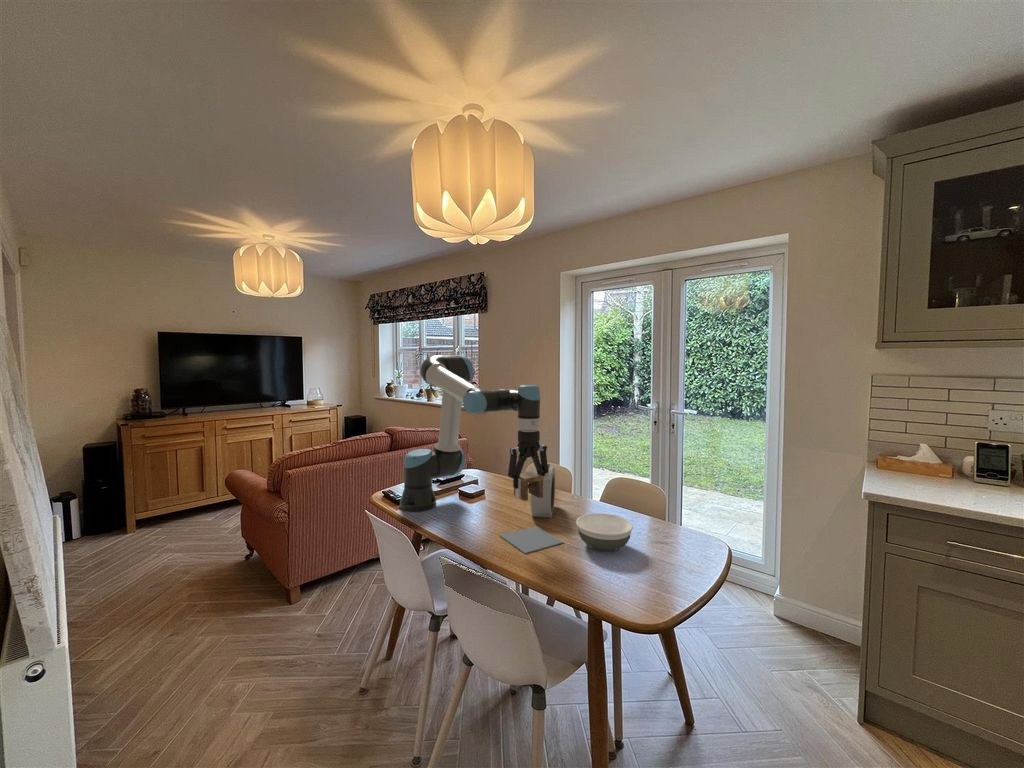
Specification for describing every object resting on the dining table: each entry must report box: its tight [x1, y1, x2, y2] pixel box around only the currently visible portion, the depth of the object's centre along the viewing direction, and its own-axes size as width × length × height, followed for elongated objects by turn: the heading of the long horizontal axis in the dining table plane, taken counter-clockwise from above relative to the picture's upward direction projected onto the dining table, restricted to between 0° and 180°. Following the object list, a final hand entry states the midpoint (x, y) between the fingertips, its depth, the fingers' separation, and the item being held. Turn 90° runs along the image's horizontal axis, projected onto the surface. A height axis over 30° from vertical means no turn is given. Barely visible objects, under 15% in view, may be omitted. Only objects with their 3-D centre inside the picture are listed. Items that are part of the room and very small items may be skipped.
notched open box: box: [513, 470, 543, 502], centre depth 147 cm, size 8×7×8 cm
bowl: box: [575, 512, 634, 553], centre depth 143 cm, size 19×19×8 cm
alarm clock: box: [530, 463, 556, 519], centre depth 175 cm, size 21×8×20 cm, turn 168°
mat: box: [499, 526, 564, 555], centre depth 148 cm, size 16×16×1 cm
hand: (528, 495), depth 147 cm, fingers closed on notched open box, 7 cm apart
